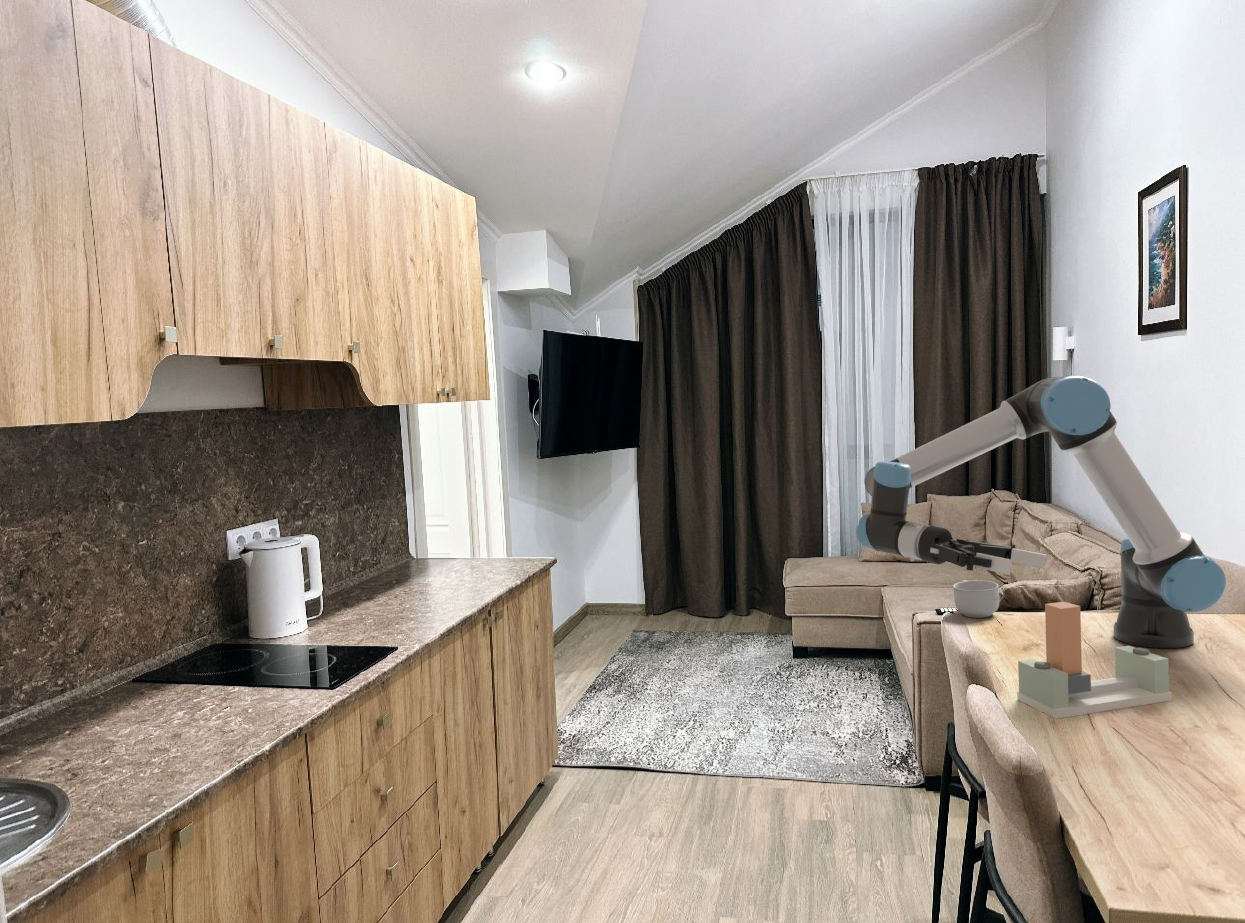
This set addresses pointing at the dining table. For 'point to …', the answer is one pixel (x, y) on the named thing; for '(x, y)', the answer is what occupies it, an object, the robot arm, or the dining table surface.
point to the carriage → (1066, 644)
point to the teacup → (976, 598)
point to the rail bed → (1102, 698)
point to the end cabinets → (1129, 661)
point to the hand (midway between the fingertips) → (1028, 564)
